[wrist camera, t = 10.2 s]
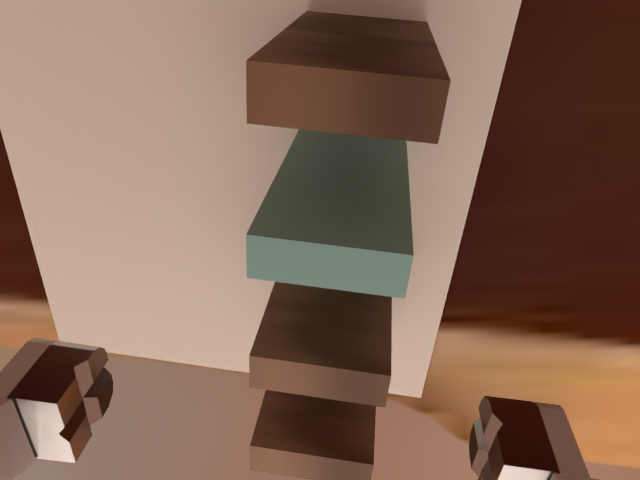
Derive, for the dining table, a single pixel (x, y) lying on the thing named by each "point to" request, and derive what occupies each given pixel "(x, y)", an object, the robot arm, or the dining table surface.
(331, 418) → the domino
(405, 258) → the teal domino
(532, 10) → the dining table surface
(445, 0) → the mat
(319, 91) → the domino
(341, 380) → the domino
